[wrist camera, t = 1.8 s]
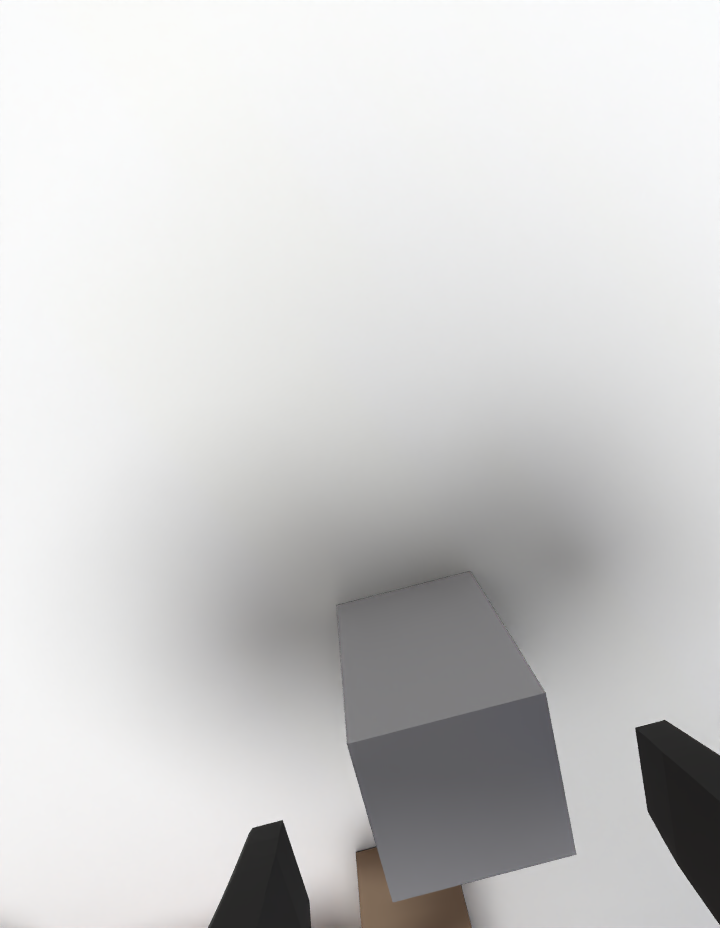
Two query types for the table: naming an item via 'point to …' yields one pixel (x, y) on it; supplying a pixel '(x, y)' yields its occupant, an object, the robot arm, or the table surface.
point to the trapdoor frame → (405, 901)
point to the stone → (448, 738)
